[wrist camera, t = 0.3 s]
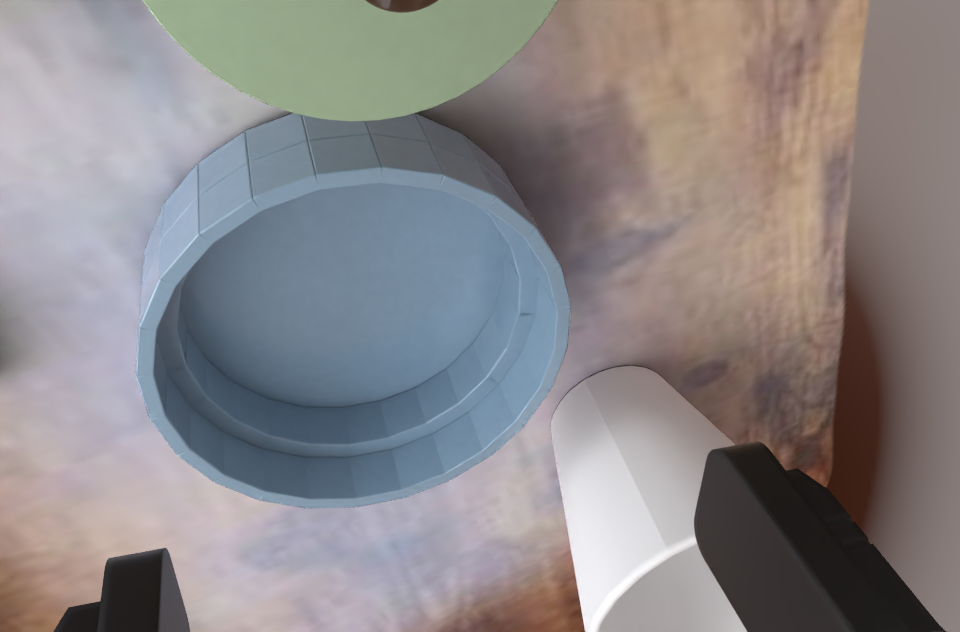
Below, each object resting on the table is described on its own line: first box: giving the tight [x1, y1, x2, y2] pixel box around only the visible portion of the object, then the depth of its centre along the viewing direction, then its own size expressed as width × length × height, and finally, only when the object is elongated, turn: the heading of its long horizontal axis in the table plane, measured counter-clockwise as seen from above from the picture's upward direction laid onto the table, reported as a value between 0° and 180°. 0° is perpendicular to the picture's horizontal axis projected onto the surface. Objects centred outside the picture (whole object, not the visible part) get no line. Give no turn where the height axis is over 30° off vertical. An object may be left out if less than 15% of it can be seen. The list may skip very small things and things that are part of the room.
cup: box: [550, 366, 747, 632], centre depth 42 cm, size 12×12×12 cm
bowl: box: [136, 113, 571, 508], centre depth 35 cm, size 16×16×6 cm
